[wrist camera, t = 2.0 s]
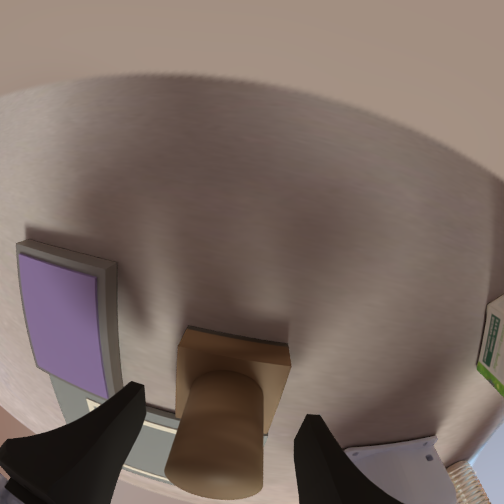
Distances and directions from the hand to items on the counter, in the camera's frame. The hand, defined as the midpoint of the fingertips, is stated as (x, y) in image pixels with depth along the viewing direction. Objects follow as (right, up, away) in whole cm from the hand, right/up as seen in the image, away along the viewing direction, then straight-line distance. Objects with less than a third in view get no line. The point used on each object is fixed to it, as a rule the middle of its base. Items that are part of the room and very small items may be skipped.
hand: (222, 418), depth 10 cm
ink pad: (-10, +3, +3) cm, 10 cm away
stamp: (0, +1, +3) cm, 4 cm away
